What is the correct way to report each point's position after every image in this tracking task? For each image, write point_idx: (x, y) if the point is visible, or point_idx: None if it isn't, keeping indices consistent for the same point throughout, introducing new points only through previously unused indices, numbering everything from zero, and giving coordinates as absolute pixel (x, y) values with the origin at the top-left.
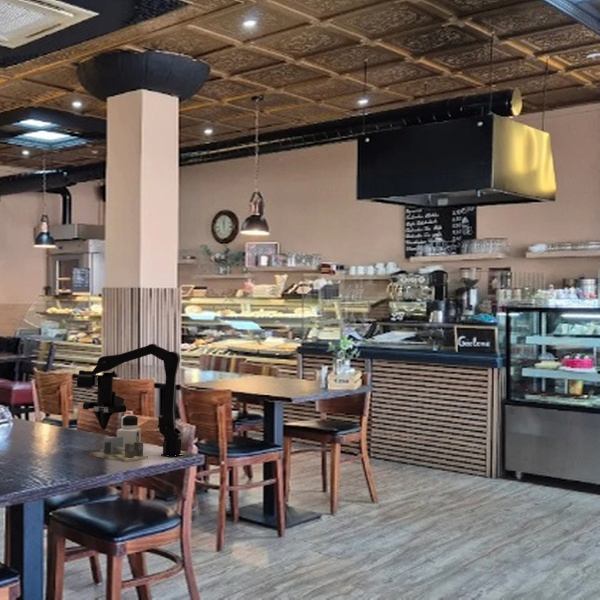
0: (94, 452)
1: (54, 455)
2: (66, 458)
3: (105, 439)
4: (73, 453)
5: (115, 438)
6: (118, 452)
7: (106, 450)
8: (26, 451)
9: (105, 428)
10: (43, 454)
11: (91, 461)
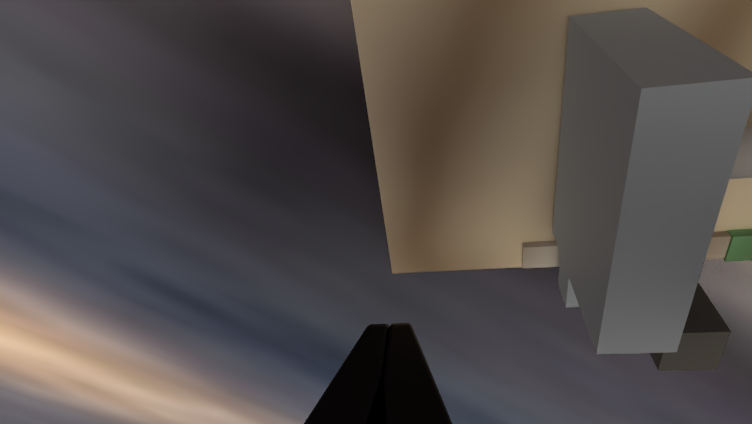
0: (413, 242)
1: (249, 394)
2: None
3: (613, 348)
4: (231, 288)
5: (707, 244)
6: None
7: None
8: (30, 415)
9: (418, 342)
10: (180, 410)
11: (627, 372)
